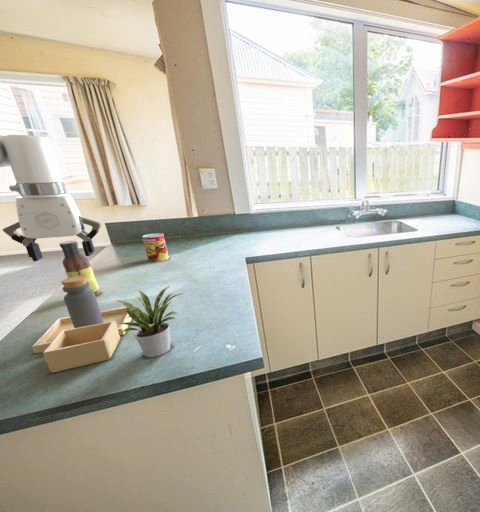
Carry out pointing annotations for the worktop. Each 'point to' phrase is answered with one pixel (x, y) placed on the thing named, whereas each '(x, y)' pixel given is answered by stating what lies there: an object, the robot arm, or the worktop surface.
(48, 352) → the bin
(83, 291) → the bottle
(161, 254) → the canned food
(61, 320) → the tray
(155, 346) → the house plant
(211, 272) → the worktop surface
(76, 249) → the sauce bottle
